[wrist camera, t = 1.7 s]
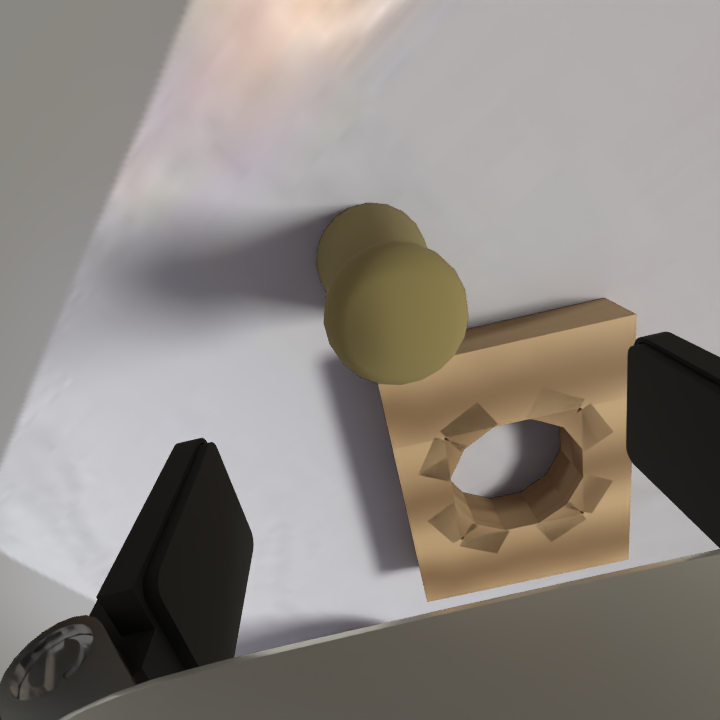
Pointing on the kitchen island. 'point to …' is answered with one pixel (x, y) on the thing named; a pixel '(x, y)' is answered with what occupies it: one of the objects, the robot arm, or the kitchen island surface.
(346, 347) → the cork
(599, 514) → the holder board
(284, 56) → the kitchen island surface
